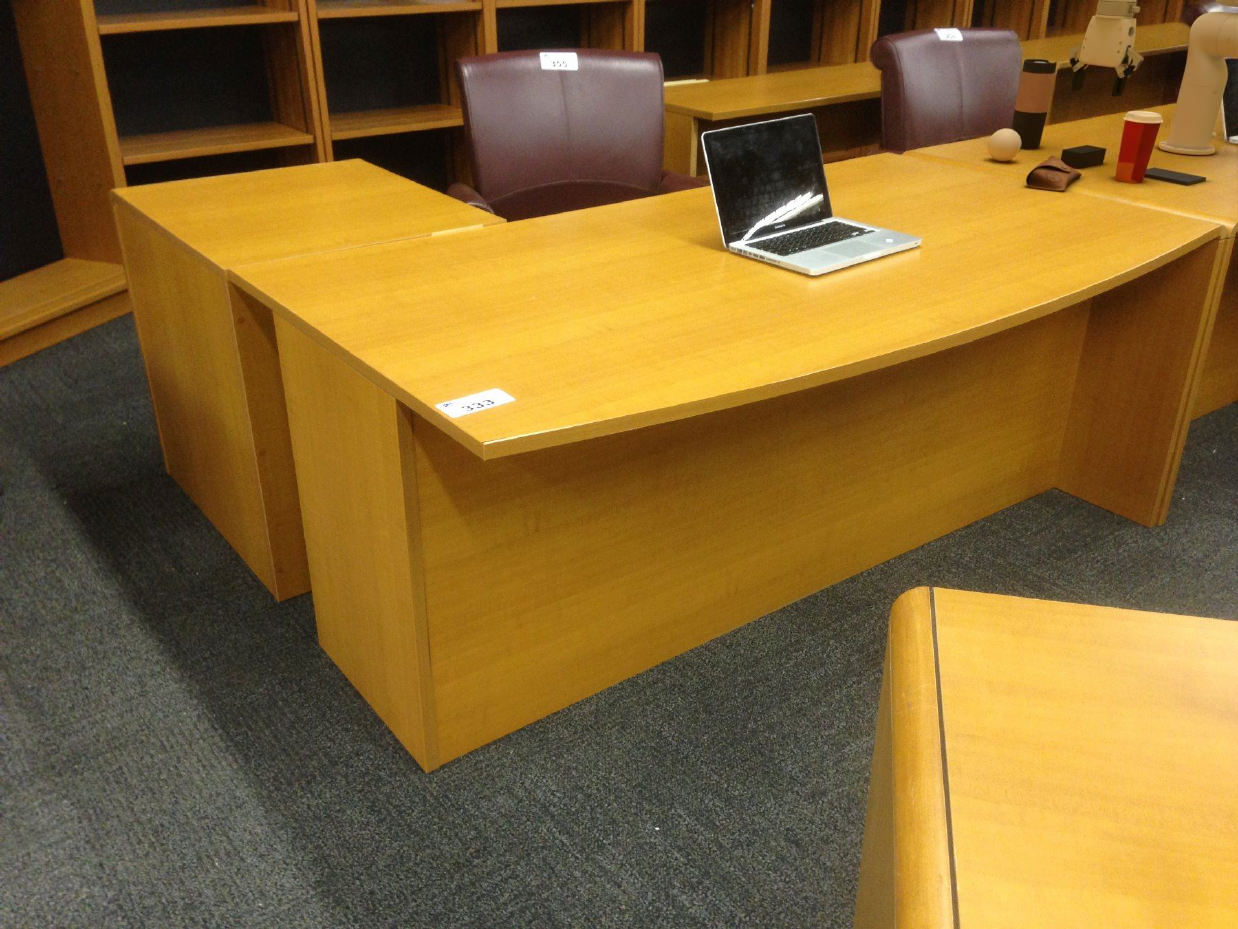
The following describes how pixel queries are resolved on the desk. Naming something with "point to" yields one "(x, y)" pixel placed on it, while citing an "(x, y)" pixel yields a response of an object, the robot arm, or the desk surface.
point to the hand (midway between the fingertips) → (1096, 93)
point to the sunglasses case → (1052, 175)
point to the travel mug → (1033, 101)
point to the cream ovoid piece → (1004, 144)
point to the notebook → (1173, 176)
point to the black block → (1083, 156)
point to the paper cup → (1137, 145)
